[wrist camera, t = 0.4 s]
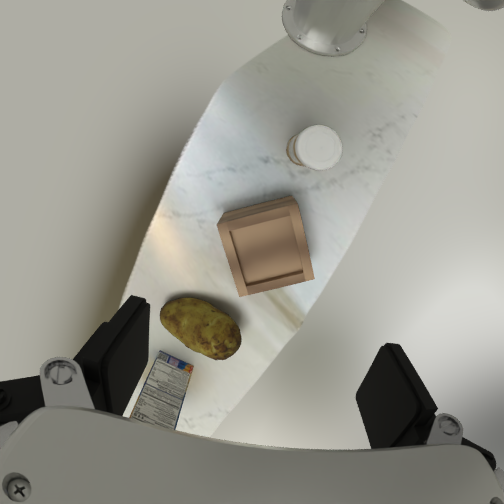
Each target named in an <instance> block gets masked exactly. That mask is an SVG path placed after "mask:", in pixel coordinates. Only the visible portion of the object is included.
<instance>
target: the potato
mask: <svg viewBox="0 0 504 504" xmlns="http://www.w3.org/2000/svg"><path fill="white" fill-rule="evenodd" d="M160 320H161V323H162V325H163V326H164V327H165V328H166V329H167V330H168V331H169V332H170V333H171V334H172V335H173V336H175V337H176V338H177V339H179V340H180V341H181V342H182V343H184V344H185V346H186V347H188V348H190V349H192V350H193V351H195V352H198V353H202V354H203V355H205V356H207V357H209V358H212V359H214V360H225V359H227V358H229V357H231V356H232V355H233V354H234V353H236V351H237V350H238V349H239V347H240V345H241V333H240V329H239V327H238V325H237V324H236V323H235V322H234V321H233V319H232V318H231V317H230V316H229V315H228V314H226V313H225V312H222V311H221V310H219V309H216V308H214V307H213V306H212V305H211V304H209V303H208V302H206V301H203V300H200V299H196V298H179V299H176V300H172V301H169V302H167V303H166V304H165V305H164V306H163V307H162V308H161V311H160Z"/></svg>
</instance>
